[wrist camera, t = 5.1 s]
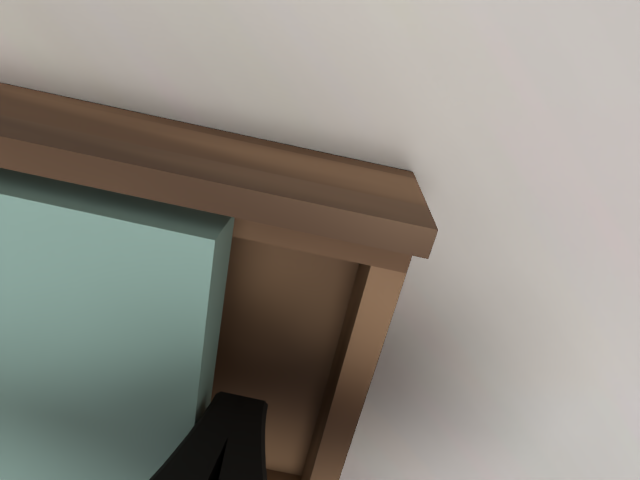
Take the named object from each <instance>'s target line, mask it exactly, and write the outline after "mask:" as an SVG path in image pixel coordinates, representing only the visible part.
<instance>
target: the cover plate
mask: <svg viewBox="0 0 640 480" xmlns="http://www.w3.org/2000/svg"><path fill="white" fill-rule="evenodd" d="M234 219H235V218H234V217H229V216H225V215H220V214H215V213H210V212H206V211H201V210H196V209H192V208H187V207H182V206H178V205H173V204H168V203H164V202H159V201H154V200H149V199H145V198H140V197H135V196H131V195H126V194H121V193H117V192H112V191H107V190H102V189H98V188H93V187H88V186H84V185H79V184H74V183H70V182H65V181H60V180H56V179H51V178H46V177H41V176H37V175H32V174H27V173H23V172H18V171H13V170H9V169H4V168H0V480H149V479H150V478H151V477H152V476H153V475H154V474H155V472H156V471H157V470H158V469H159V468H160V467H161V466H162V465H163V464H164V462H165V461H166V460H167V459H168V458H169V457H170V455H171V454H172V453H173V452H174V451H175V449H176V448H177V447H178V446H179V444H180V443H181V442H182V441H183V440H184V438H185V437H186V436H187V435H188V433H189V432H190V431H191V429H192V428H193V427H194V425H195V424H196V423H197V421H198V420H199V419H200V417H201V416H202V415H203V413H204V412H205V410H206V409H207V407H208V406H209V404H210V403H211V395H212V387H213V380H214V372H215V364H216V357H217V349H218V341H219V334H220V326H221V318H222V311H223V303H224V295H225V288H226V280H227V272H228V265H229V257H230V250H231V242H232V234H233V227H234Z"/></svg>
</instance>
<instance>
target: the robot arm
mask: <svg viewBox="0 0 640 480" xmlns="http://www.w3.org/2000/svg"><path fill="white" fill-rule="evenodd" d="M267 409H268V404H267V403H266V402H265V401H264V400H260V399H255V398H250V397H245V396H241V395H236V394H231V393H226V392H222V391H220V392H218V393H216V394H215V396H214V398H213V399H212V401H211V403H210V404H209V406H208V407H207V409H206V410H205V412H204V413H203V415H202V416H201V417H200V419H199V420H198V421H197V423H196V424H195V425H194V427H193V428H192V429H191V431H190V432H189V433H188V435H187V436H186V437H185V438H184V440H183V441H182V442H181V443H180V444H179V446H178V447H177V448H176V449H175V451H174V452H173V453H172V454H171V455H170V457H169V458H168V459H167V460H166V461H165V462H164V464H163V465H162V466H161V467H160V468H159V469H158V470H157V471H156V472H155V474H154V475H153V476H152V477H151V478H150V479H149V480H267V471H266V456H265V426H266V415H267Z"/></svg>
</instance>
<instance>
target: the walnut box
mask: <svg viewBox="0 0 640 480" xmlns="http://www.w3.org/2000/svg"><path fill="white" fill-rule="evenodd" d="M0 168H4V169H9V170H13V171H18V172H23V173H27V174H32V175H37V176H41V177H46V178H51V179H56V180H60V181H65V182H70V183H74V184H79V185H84V186H88V187H93V188H98V189H102V190H107V191H112V192H117V193H121V194H126V195H131V196H135V197H140V198H145V199H149V200H154V201H159V202H164V203H168V204H173V205H178V206H182V207H187V208H192V209H196V210H201V211H206V212H210V213H215V214H220V215H225V216H229V217H234V218H235V219H234V227H233V234H232V242H231V250H230V257H229V265H228V272H227V280H226V288H225V295H224V303H223V311H222V318H221V326H220V334H219V341H218V349H217V357H216V364H215V372H214V380H213V387H212V395H211V401H212V399H213V398H214V396H215V394H216V393H218V392H220V391H222V392H226V393H231V394H236V395H241V396H245V397H250V398H255V399H260V400H264V401H265V402H266V403H267V404H268V409H267V415H266V426H265V456H266V471H267V480H339V478H340V475H341V472H342V469H343V466H344V463H345V460H346V457H347V453H348V450H349V447H350V444H351V441H352V438H353V435H354V432H355V429H356V426H357V423H358V420H359V417H360V414H361V411H362V408H363V405H364V402H365V398H366V395H367V392H368V389H369V386H370V383H371V380H372V377H373V374H374V371H375V368H376V365H377V362H378V359H379V356H380V353H381V350H382V346H383V343H384V340H385V337H386V334H387V331H388V328H389V325H390V322H391V319H392V316H393V313H394V310H395V307H396V304H397V301H398V298H399V294H400V291H401V288H402V285H403V282H404V279H405V276H406V273H407V270H408V267H409V264H410V261H411V258H412V256H417V257H422V258H426V259H428V258H429V255H430V252H431V249H432V246H433V243H434V241H435V238H436V235H437V232H438V229H437V226H436V224H435V222H434V219H433V217H432V215H431V212H430V210H429V208H428V205H427V203H426V201H425V198H424V196H423V194H422V192H421V189H420V187H419V185H418V182H417V180H416V178H415V175H414V173H413V172H411V171H406V170H402V169H397V168H392V167H388V166H383V165H378V164H374V163H369V162H365V161H360V160H355V159H351V158H346V157H341V156H337V155H332V154H328V153H323V152H318V151H314V150H309V149H304V148H300V147H295V146H291V145H286V144H281V143H277V142H272V141H267V140H263V139H258V138H254V137H249V136H244V135H240V134H235V133H230V132H226V131H221V130H217V129H212V128H207V127H203V126H198V125H193V124H189V123H184V122H180V121H175V120H170V119H166V118H161V117H156V116H152V115H147V114H143V113H138V112H133V111H129V110H124V109H119V108H115V107H110V106H106V105H101V104H96V103H92V102H87V101H82V100H78V99H73V98H69V97H64V96H59V95H55V94H50V93H45V92H41V91H36V90H32V89H27V88H22V87H18V86H13V85H8V84H4V83H0Z"/></svg>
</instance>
